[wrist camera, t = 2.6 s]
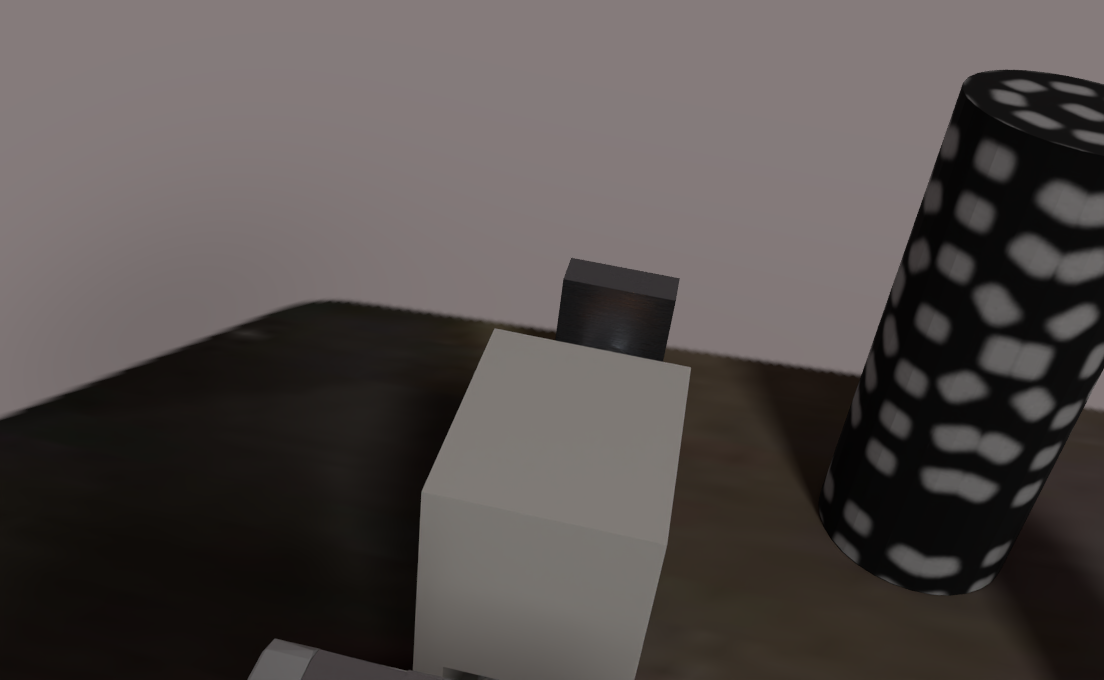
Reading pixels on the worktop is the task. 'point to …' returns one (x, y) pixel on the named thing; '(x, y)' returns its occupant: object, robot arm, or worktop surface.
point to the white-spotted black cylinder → (979, 340)
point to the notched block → (548, 514)
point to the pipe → (615, 311)
